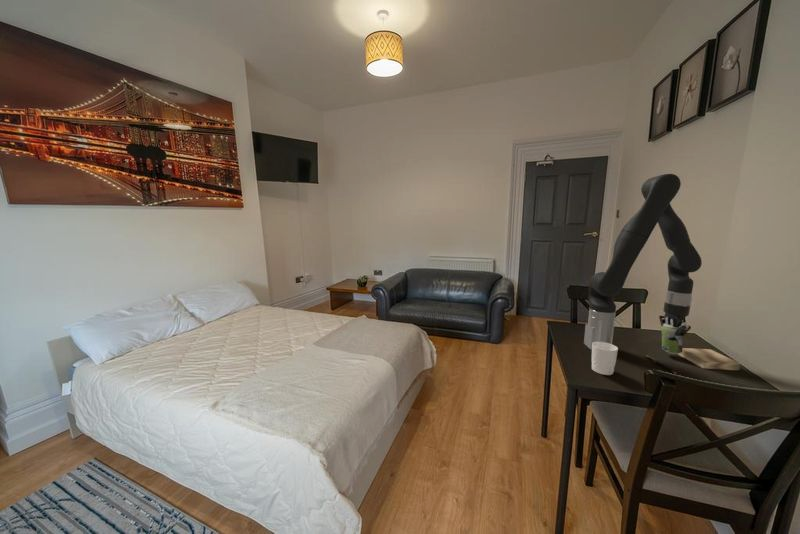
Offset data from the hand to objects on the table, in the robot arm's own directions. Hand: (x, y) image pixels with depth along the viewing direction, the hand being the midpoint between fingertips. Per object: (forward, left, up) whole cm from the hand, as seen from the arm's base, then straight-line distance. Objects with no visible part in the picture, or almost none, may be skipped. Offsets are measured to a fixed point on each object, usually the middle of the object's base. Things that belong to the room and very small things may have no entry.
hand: (670, 342), depth 116 cm
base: (+11, -3, -6) cm, 13 cm away
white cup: (-34, -16, -6) cm, 38 cm away
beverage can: (0, 0, -4) cm, 4 cm away
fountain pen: (-9, -9, -7) cm, 14 cm away
